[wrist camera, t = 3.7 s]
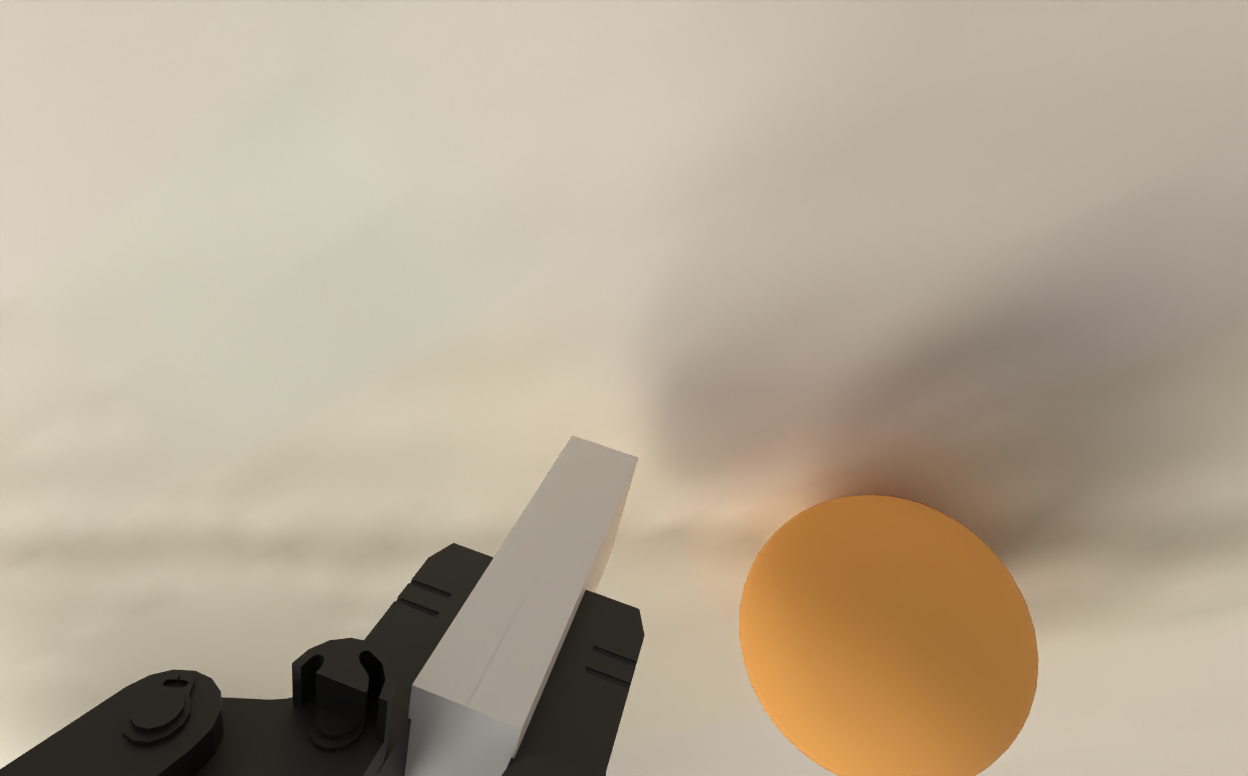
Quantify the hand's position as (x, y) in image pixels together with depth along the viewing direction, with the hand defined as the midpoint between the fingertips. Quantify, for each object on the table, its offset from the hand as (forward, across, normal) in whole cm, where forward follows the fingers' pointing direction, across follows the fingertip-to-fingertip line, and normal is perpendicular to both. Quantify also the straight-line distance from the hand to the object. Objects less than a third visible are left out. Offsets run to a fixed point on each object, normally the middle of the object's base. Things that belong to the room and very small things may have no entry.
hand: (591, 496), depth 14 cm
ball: (-1, -6, 0) cm, 6 cm away
